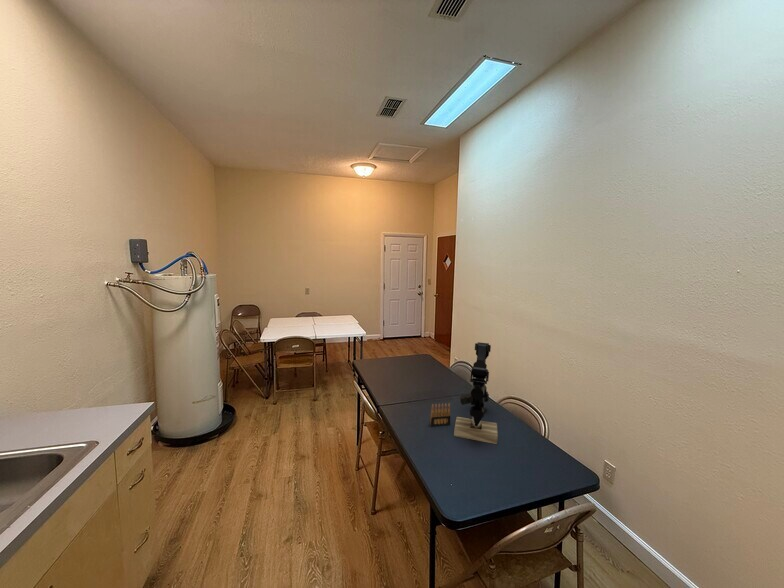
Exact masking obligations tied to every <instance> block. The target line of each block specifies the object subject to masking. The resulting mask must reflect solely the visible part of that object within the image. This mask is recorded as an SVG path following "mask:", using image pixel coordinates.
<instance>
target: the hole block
mask: <svg viewBox="0 0 784 588" xmlns="http://www.w3.org/2000/svg"><path fill="white" fill-rule="evenodd" d="M455 419H456V420H455V424H454V431H453V436H454V437H457V438H462V439H468V440H474V441H477V442H483V443H484V442H485V443H490V444H495V445H497V444H498V435H499V434H498V422H491V421H487V420H486V421H484V420H481V424H480V429H474V428H472V418H466V417H461V416H456V418H455Z"/></svg>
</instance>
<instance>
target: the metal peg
mask: <svg viewBox="0 0 784 588" xmlns="http://www.w3.org/2000/svg"><path fill="white" fill-rule="evenodd" d="M471 417H472V418H471V419H472V428H474V429H480V424H481V421H482V420H481V421H480V422H479V424H478V426H475V423H474V418H473V416H471Z"/></svg>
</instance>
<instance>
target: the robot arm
mask: <svg viewBox="0 0 784 588" xmlns="http://www.w3.org/2000/svg"><path fill="white" fill-rule="evenodd" d="M491 349H492V347H491V344H489V343H488V342H487V343H486V342H476V343H474V351H475V355H476V361H475V362H473V367H471V370H470V381H469V382H471V383H472V386H471V389H470V393H465V394H461V395H460V397H459V400H460V404H461V405H462V406H464V405H468V404H470V405H471V407H470V409H469V415H470V416H471V417H473V418H474V423H475V426H478V424H479V422H480V421H482V420H483V418H484V416H485V413H486V407H485V403H488V402H489V400H490V399H489V398H490V394H489V392H488V391H487V388H488V387H487V386H486V385H487V384H488V382H489V376H490V371H489V369H487V367H488V366H487V364H486V363H487V362H486V360H487V359H488V357H489V356H490V353H491Z"/></svg>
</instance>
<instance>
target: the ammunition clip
mask: <svg viewBox="0 0 784 588" xmlns="http://www.w3.org/2000/svg"><path fill="white" fill-rule="evenodd" d="M447 404H448V405H447ZM429 426H430V428H433V427H444V426H445V427H446V426H447V427H448V426H451V403H450V402H448V403H446V402H445V404H444V403H443V402H442V403H438V404H437V403H435V404H434V403H431V409H430V418H429Z"/></svg>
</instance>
